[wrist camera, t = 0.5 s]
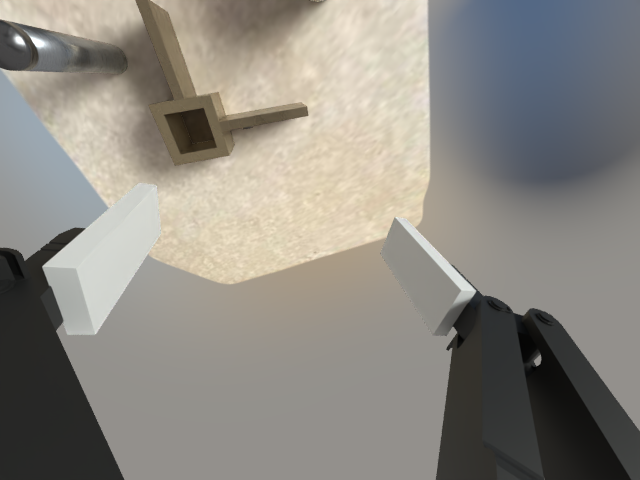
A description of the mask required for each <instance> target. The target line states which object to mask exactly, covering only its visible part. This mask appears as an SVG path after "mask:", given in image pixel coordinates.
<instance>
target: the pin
mask: <svg viewBox="0 0 640 480" xmlns="http://www.w3.org/2000/svg"><path fill="white" fill-rule="evenodd" d="M0 68H3V69H6V70H13V71H44V72H75V73H105V74H121V73H123V72H124V71H125V70H126V68H127V60H126V57H125V55H124V53H123V52H122V51H121V50H120V49H119V48H118V47H116V46H114V45H112V44H108V43H103V42H99V41H94V40H90V39H85V38H81V37H76V36H72V35H68V34H63V33H59V32H54V31H50V30H45V29H41V28H36V27H32V26H27V25H23V24H18V23H14V22H9V21H5V20H0Z"/></svg>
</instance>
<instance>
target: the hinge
mask: <svg viewBox="0 0 640 480" xmlns="http://www.w3.org/2000/svg"><path fill="white" fill-rule="evenodd" d="M136 3H137V5H138V8H139V10H140V13H141V16H142V18H143V21H144V23H145V26H146V28H147V31H148V33H149V36H150V39H151V41H152V44H153V46H154V49H155V51H156V54H157V57H158V59H159V62H160V64H161V67H162V69H163V72H164V75H165V77H166V80H167V82H168V85H169V87H170V90H171V92H172V95H173V98H174V100H169V101H164V102H160V103H155V104H151V105H149V108H150V110H151V112H152V115H153V117H154V119H155V121H156V124H157V126H158V128H159V130H160V133H161V135H162V137H163V139H164V142H165V144H166V146H167V149H168V151H169V153H170V155H171V158H172V160H173V162H174V164H175V166H176V165H181V164H186V163H192V162H197V161H202V160H208V159H213V158H218V157H224V156H229V155H230V154H231V152H232V149H233V147H234V145H235V144H234V141H233V138H232V134H231V131H230V130H233V129H238V128H243V129H248V128H252V127H253V126H255V125H261V124H266V123H272V122H277V121H283V120H288V119H294V118H299V117H305V116H308V110H307V106H306V105H304V104H303V103H301V102H300V103H295V104H289V105H283V106H278V107H272V108H266V109H261V110H255V111H249V112H244V113H238V114H232V115H227V116H226V115H225V111H224V108H223V105H222V102H221V98H220V95H219V92H217V93H211V94H205V95H199V96H197V95H196V92H195V89H194V86H193V83H192V81H191V78H190V75H189V72H188V69H187V66H186V63H185V60H184V57H183V55H182V52H181V49H180V46H179V43H178V40H177V37H176V34H175V31H174V29H173V26H172V23H171V20H170V17H169V14H168V12H167V11H165V10H164V9H162V8H161V7H159V6H158V5H156V4H155V3H153V2H152V1H150V0H136ZM200 108H204V110H205V113H206V116H207V119H208V122H209V125H210V128H211V131H212V134H213V137H214V140H210V141H204V142H199V143H192V141H191V138H190V135H189V133H188V130H187V128H186V125H185V123H184V120H183V117H182V115H181V112H183V111H188V110H194V109H200Z"/></svg>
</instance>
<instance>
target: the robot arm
mask: <svg viewBox="0 0 640 480" xmlns="http://www.w3.org/2000/svg"><path fill="white" fill-rule="evenodd" d="M160 234H161V226H160V215H159V204H158V192H157V185H152V184H145V183H138V184H137V185H136V186H135V187H133V188H132V189H131V190H130V191H129V192H128V193H127V194H125V195H124V196H123V197H122V198H121V199H120V200H118V201H117V202H116V203H115V204H114V205H113V206H112V207H110V208H109V209H108V210H107V211H106V212H105V213H103V214H102V215H101V216H100V217H99V218H98V219H97V220H95V221H94V222H93V223H92V224H91V225H90V226H88V227H87V228H86V229H85V228H73V229H70V230H68V231H66V232H63V233H61V234H59V235H58V236H56V237H55V238H54V239H53V240H51V241H50V242H49V244H46V245H45V246H43V247H42V248H41V250H40V251H37V252H36V253H35V254H33V255H32V256H31V257H29V258H28V259H27V260H26V261H24V258H23V256H22V254H21V253H20V252H19V251H17V250H14V249H10V248H0V480H124V478H123V476H122V474H121V472H120V469H119V467H118V465H117V463H116V461H115V458H114V456H113V454H112V452H111V450H110V448H109V446H108V443H107V441H106V439H105V437H104V435H103V432H102V430H101V428H100V426H99V424H98V422H97V419H96V417H95V415H94V413H93V411H92V408H91V406H90V404H89V402H88V400H87V398H86V395H85V394H84V391H83V389H82V387H81V385H80V382H79V380H78V378H77V376H76V374H75V372H74V369H73V367H72V365H71V363H70V361H69V359H68V356H67V354H66V352H65V350H64V348H63V346H62V343H61V341H60V339H59V337H58V335H57V333H56V330H57V329H58V327H59V326H60V325H61V324H62V323H63V324H64V327H65V330H66V332H67V334H68V335H96V333H97V332H98V330H99V328H100V327H101V325H102V324H103V322H104V321H105V319H106V318H107V316H108V315H109V313H110V311H111V310H112V308H113V307H114V305H115V304H116V302H117V301H118V299H119V297H120V296H121V295H122V293H123V291H124V290H125V288H126V287H127V285H128V284H129V282H130V281H131V279H132V278H133V276H134V274H135V273H136V271H137V270H138V268H139V267H140V265H141V264H142V262H143V261H144V259H145V258H146V256H147V254H148V253H149V251H150V250H151V248H152V247H153V245H154V244H155V242H156V241H157V239H158V238H159V236H160ZM380 254H381V256H382V257H383V259H384V260H385V262H386V263H387V265H388V266H389V268H390V270H391V271H392V273H393V274H394V276H395V278H396V279H397V281H398V282H399V284H400V285H401V287H402V288H403V290H404V292H405V293H406V294H407V296H408V298H409V299H410V301H411V302H412V304H413V306H414V307H415V309H416V310H417V312H418V313H419V315H420V316H421V318H422V319H423V321H424V323H425V324H426V326H427V327H428V329H429V330H430V332H431V333H432V335H436V336H439V335H440V336H443V335H445V336H446V335H447V334H448V333H449V331H450V330H451V328H452V327H454V328H455V329H456V331H457V334H456V335H455V337H454V338H453V340H452V341H451V342H450V344H449V345H448V347H447V350H449V349H450V348H453V349H452V356H451V364H450V372H449V380H448V388H447V396H446V404H445V412H444V421H443V428H442V437H441V445H440V452H439V460H438V468H437V476H436V480H544V478H545V480H640V431H639V430H638V428H637V427H636V426H635V424H634V423H633V422H632V420H631V419H630V418H629V416H628V415H627V413H626V412H625V411H624V409H623V408H622V407H621V405H620V404H619V403H618V401H617V400H616V398H615V397H614V396H613V395H612V393H611V392H610V390H609V389H608V388H607V386H606V385H605V383H604V382H603V381H602V379H601V378H600V377H599V375H598V374H597V373H596V371H595V370H594V368H593V367H592V366H591V365H590V363H589V362H588V361H587V359H586V358H585V356H584V355H583V354H582V352H581V351H580V349H579V348H578V347H577V345H576V344H575V343H574V342H573V340H572V339H571V337H570V336H569V334H568V333H567V332H566V330H565V329H564V328H563V326H562V325H561V324H560V323H559V322H558V321H557V320H556V319H555V318H553V316H552V315H550V314H548V313H546V312H543V311H541V310H538V309H534V308H532V309H529V310H528V312H527V313H526V314H525V315H524V316H522V315H518V314H515V313H513V311H512V310H511V309H510V307H509V306H508V305H506V304H505V303H503V302H502V301H500V300H498V299H496V298H494V297H491V296H483V295H482V294H481V293H480V292H479V291H478V290H477V289H476V288H475V287H474V286H473V285H472V284H471V283H470V282H469V281H468V280H466V278H465V277H464V276H463V275H462V274H460V272H459V271H458V270H457V269H456V268H455V267H454V266H453V265H451V264H450V263H448V262H447V261H446V260H445V258H444V257H443V256H442V255H441V254H440V253H439V252H438V251H437V250H436V249H435V248H434V247H433V246H432V245H431V244H430V243H429V242H428V241H427V240H426V239H425V238H424V237H423V236H422V235H421V234H420V233H419V232H418V231H417V230H416V229H415V228H414V227H413V226H412V225H411V224H410V222H409V221H408V220H407V219H405V218H398V217H395V218H394V220H393V223H392V225H391V228H390V230H389V233H388V235H387V238H386V240H385V243H384V245H383V248H382V250H381V253H380ZM540 354H541V359H542V360H541V364H540V365H539V366H536V365H535V363H534V360H535V359H536V358H537V357H538V356H539V355H540Z"/></svg>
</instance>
